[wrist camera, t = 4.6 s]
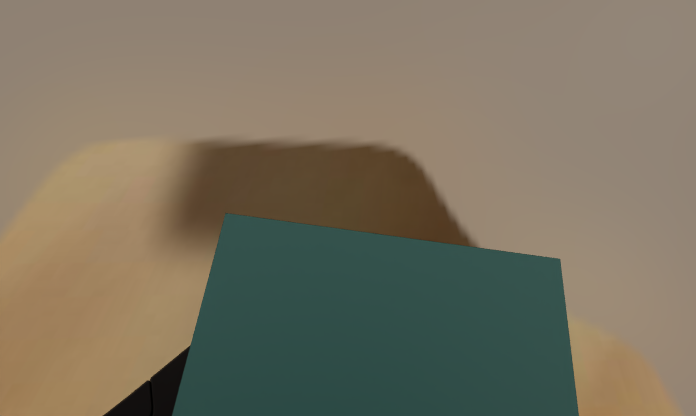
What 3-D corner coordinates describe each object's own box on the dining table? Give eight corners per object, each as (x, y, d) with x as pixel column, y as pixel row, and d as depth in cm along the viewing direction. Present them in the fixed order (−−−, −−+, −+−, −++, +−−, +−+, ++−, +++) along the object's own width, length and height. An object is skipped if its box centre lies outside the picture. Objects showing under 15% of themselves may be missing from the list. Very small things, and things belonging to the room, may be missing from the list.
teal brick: (376, 412, 14) (621, 773, 3) (274, 401, 14) (85, 739, 3) (383, 307, 15) (560, 258, 4) (292, 295, 15) (225, 212, 4)
